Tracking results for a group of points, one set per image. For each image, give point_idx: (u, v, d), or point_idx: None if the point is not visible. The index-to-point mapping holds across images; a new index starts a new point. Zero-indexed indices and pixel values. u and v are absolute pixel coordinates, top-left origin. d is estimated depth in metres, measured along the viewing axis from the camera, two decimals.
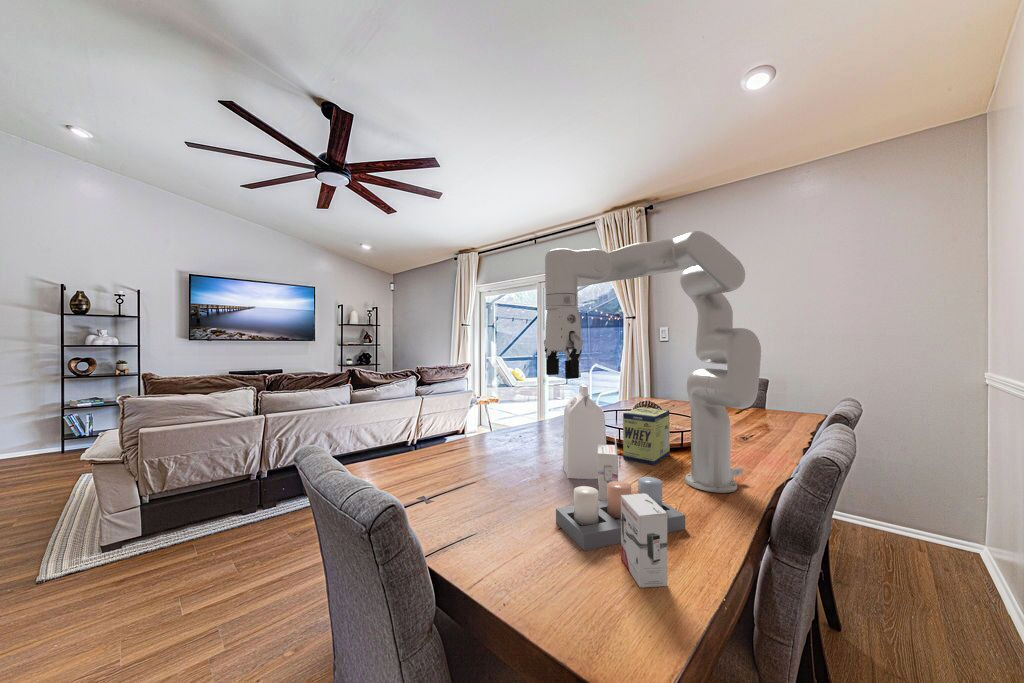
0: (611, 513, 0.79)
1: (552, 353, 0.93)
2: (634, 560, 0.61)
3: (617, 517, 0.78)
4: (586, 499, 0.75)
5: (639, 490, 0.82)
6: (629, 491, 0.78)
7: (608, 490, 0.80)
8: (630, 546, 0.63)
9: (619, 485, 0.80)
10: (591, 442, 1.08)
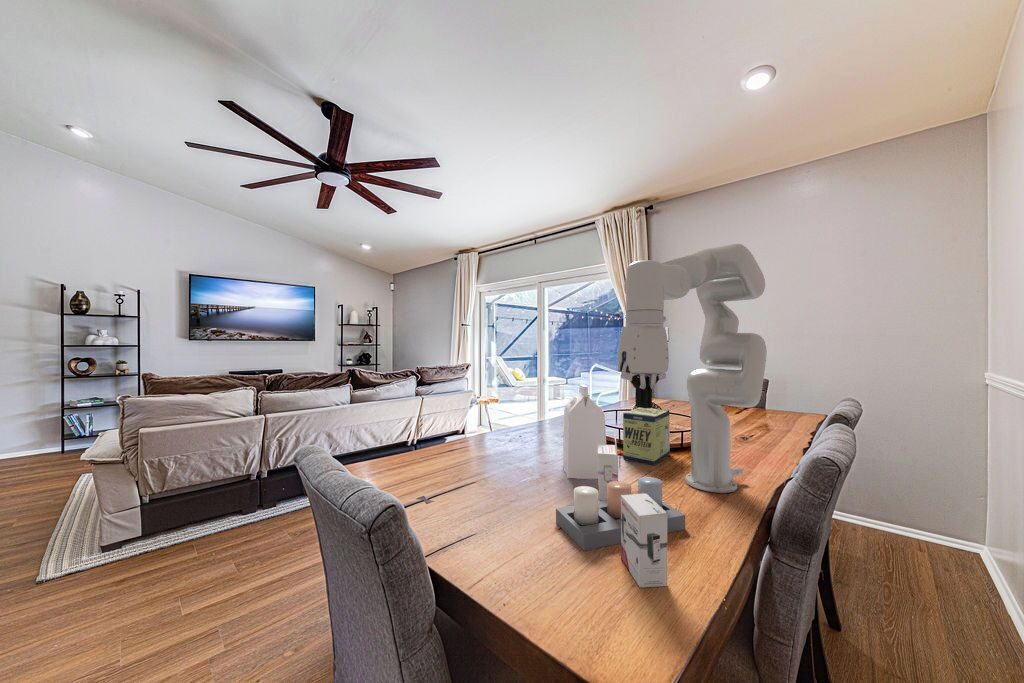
0: (611, 513, 0.79)
1: None
2: (634, 560, 0.61)
3: (617, 517, 0.78)
4: (586, 499, 0.75)
5: (639, 490, 0.82)
6: (629, 491, 0.78)
7: (608, 490, 0.80)
8: (630, 546, 0.63)
9: (619, 485, 0.80)
10: (591, 442, 1.08)
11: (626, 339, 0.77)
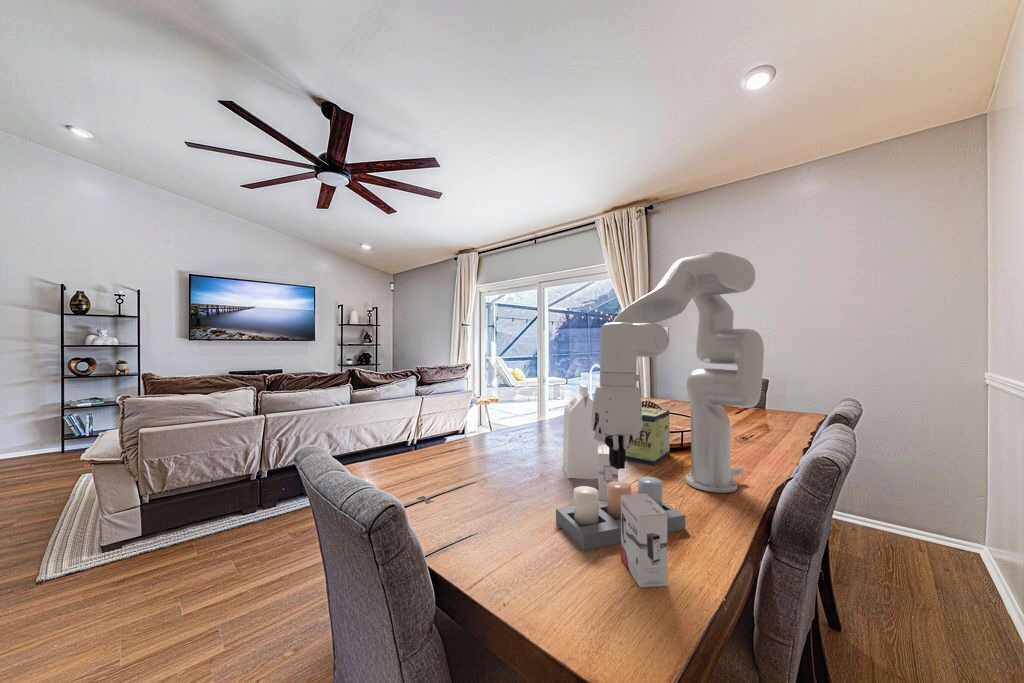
0: (611, 513, 0.79)
1: None
2: (634, 560, 0.61)
3: (617, 517, 0.78)
4: (586, 499, 0.75)
5: (639, 490, 0.82)
6: (629, 491, 0.78)
7: (608, 490, 0.80)
8: (630, 546, 0.63)
9: (619, 485, 0.80)
10: (591, 442, 1.08)
11: (599, 401, 0.78)
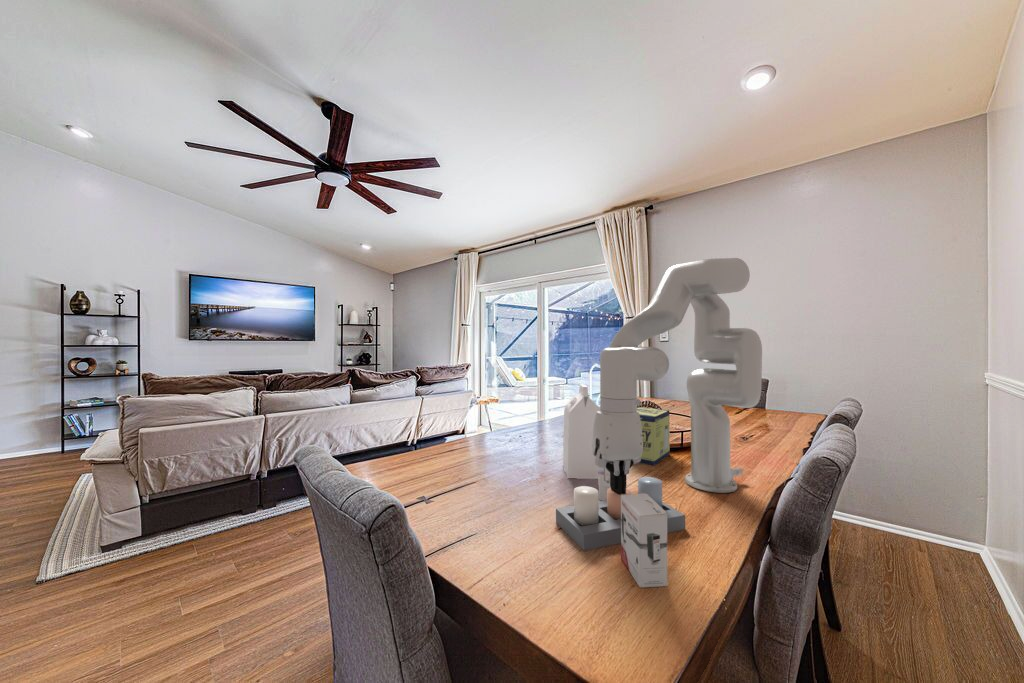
0: None
1: None
2: (634, 560, 0.61)
3: None
4: (586, 499, 0.75)
5: (639, 490, 0.82)
6: None
7: (608, 496, 0.80)
8: (630, 546, 0.63)
9: None
10: (591, 442, 1.08)
11: (599, 427, 0.78)
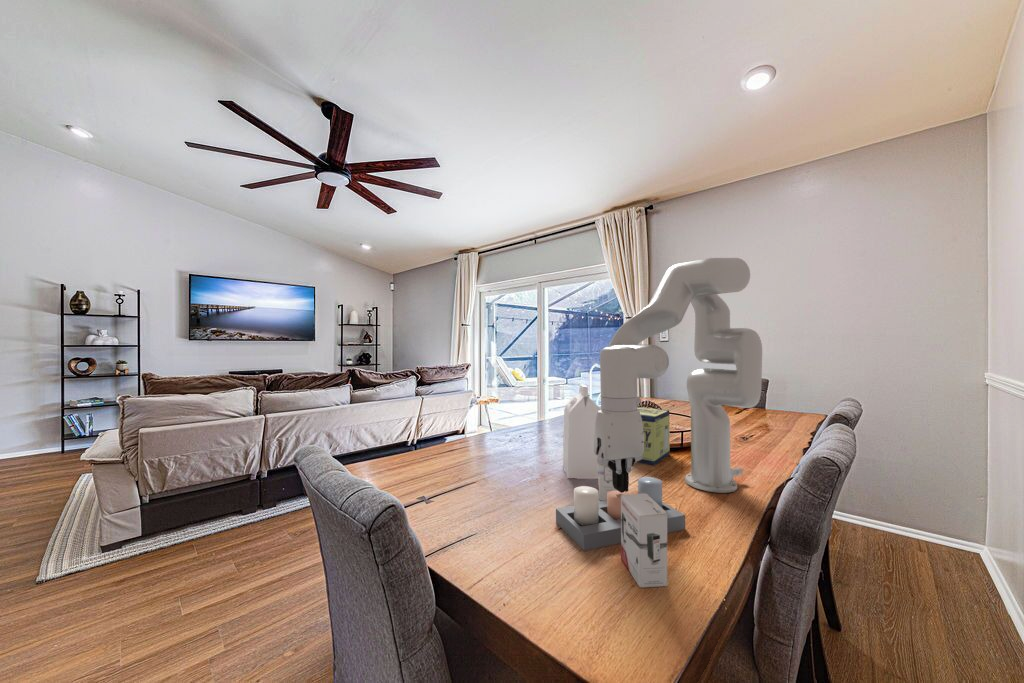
0: None
1: None
2: (634, 560, 0.61)
3: None
4: (586, 499, 0.75)
5: (639, 490, 0.82)
6: None
7: (608, 500, 0.80)
8: (630, 546, 0.63)
9: (619, 494, 0.80)
10: (591, 442, 1.08)
11: (600, 426, 0.78)
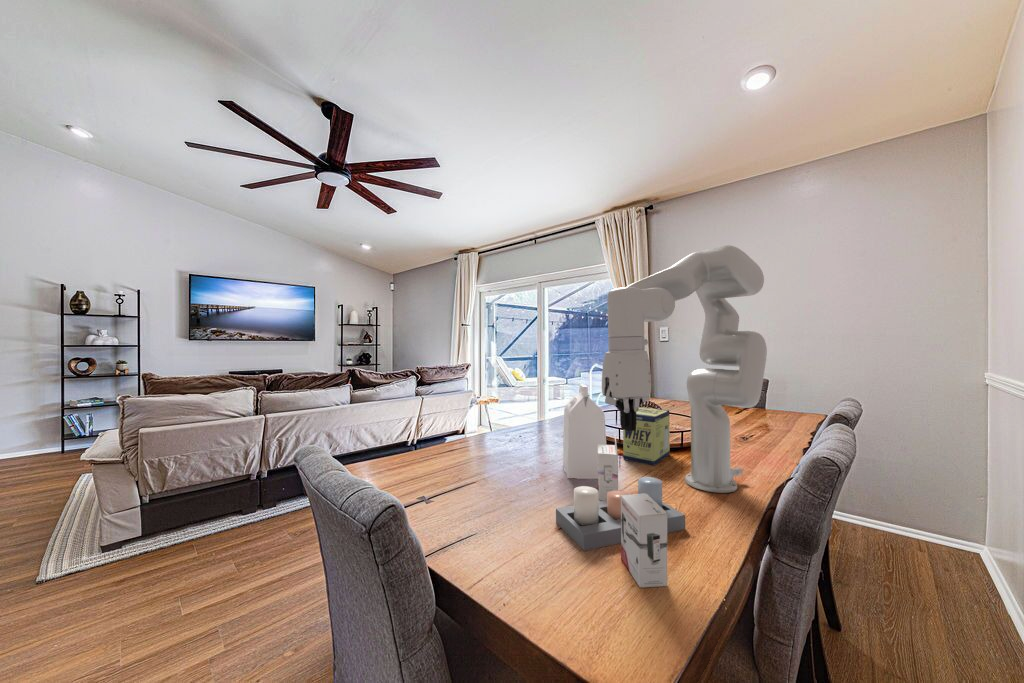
0: None
1: None
2: (634, 560, 0.61)
3: None
4: (586, 499, 0.75)
5: (639, 490, 0.82)
6: None
7: (608, 500, 0.80)
8: (630, 546, 0.63)
9: (619, 494, 0.80)
10: (591, 442, 1.08)
11: (608, 365, 0.80)
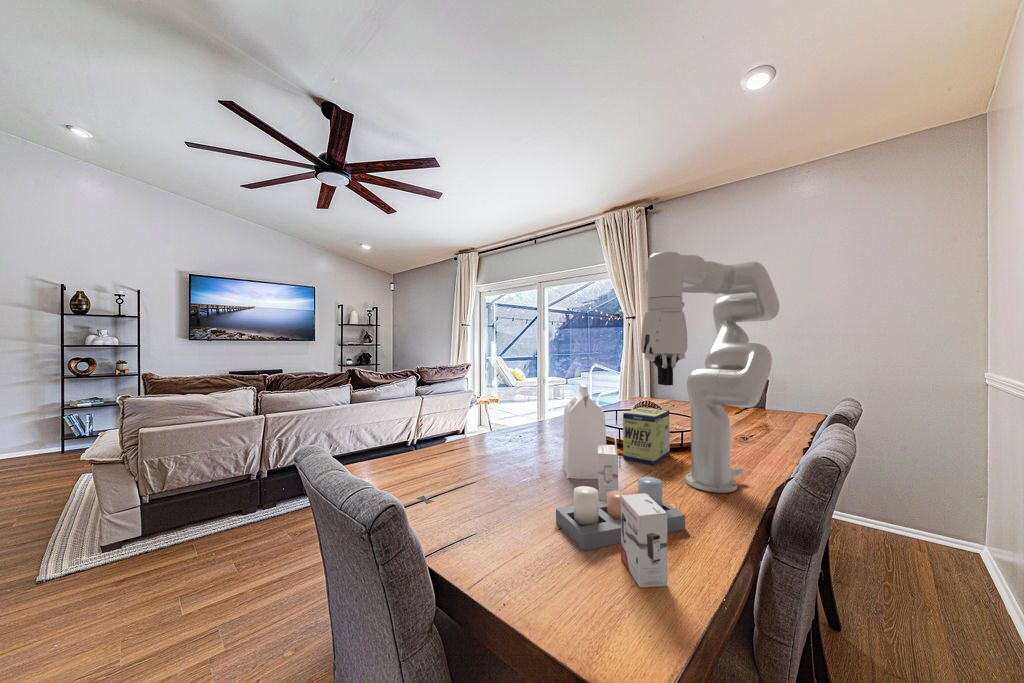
0: None
1: None
2: (634, 560, 0.61)
3: None
4: (586, 499, 0.75)
5: (639, 490, 0.82)
6: None
7: (608, 500, 0.80)
8: (630, 546, 0.63)
9: (619, 494, 0.80)
10: (591, 442, 1.08)
11: (649, 323, 0.86)
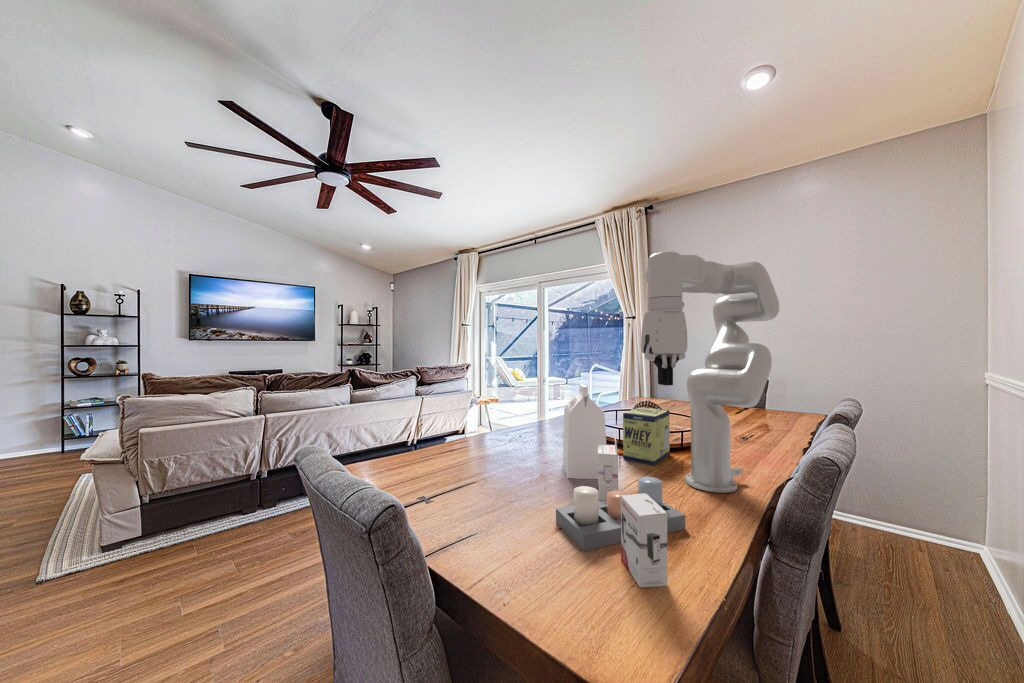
0: None
1: None
2: (634, 560, 0.61)
3: None
4: (586, 499, 0.75)
5: (639, 490, 0.82)
6: None
7: (608, 500, 0.80)
8: (630, 546, 0.63)
9: (619, 494, 0.80)
10: (591, 442, 1.08)
11: (649, 323, 0.86)
